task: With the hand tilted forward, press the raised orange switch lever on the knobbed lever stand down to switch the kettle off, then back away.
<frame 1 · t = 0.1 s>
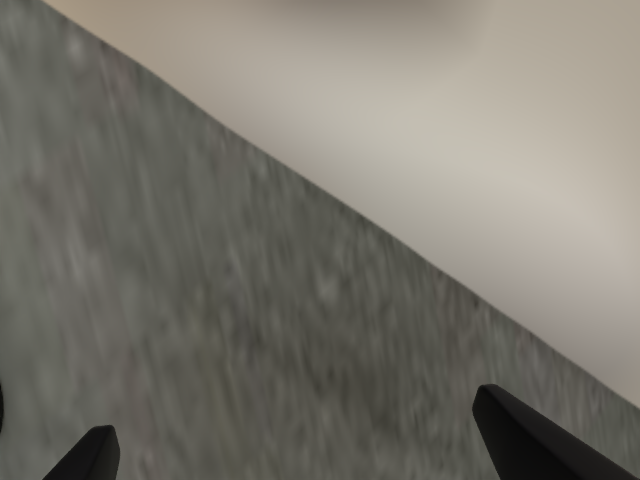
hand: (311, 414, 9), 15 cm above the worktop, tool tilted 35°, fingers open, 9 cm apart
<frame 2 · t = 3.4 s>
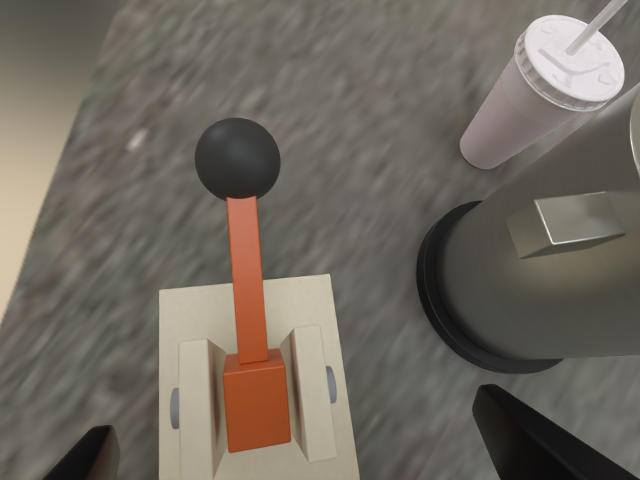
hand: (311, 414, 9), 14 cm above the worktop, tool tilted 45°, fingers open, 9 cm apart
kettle: (496, 283, 26), on the worktop
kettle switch: (247, 275, 14), point 9 cm above the worktop, hinge at 18.0°
knobbed lever stand: (256, 387, 22), on the worktop
smoothie: (479, 150, 30), on the worktop
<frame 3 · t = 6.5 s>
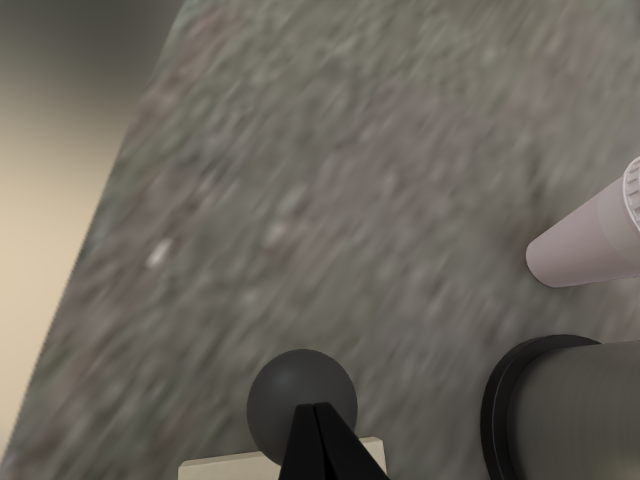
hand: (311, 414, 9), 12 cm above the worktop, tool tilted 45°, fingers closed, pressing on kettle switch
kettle: (574, 439, 22), on the worktop
smoothie: (548, 262, 26), on the worktop
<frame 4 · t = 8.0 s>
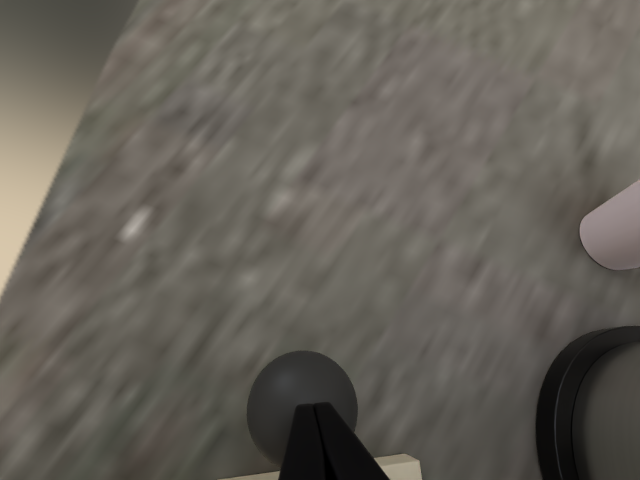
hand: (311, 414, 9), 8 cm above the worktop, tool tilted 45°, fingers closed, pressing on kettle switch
smoothie: (605, 241, 22), on the worktop
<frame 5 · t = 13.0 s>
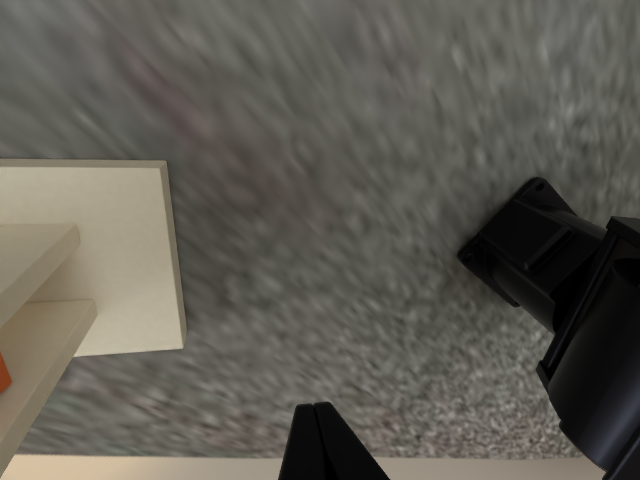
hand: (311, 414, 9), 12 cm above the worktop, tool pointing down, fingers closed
knobbed lever stand: (51, 258, 18), on the worktop
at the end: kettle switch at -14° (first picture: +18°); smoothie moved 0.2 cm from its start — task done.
